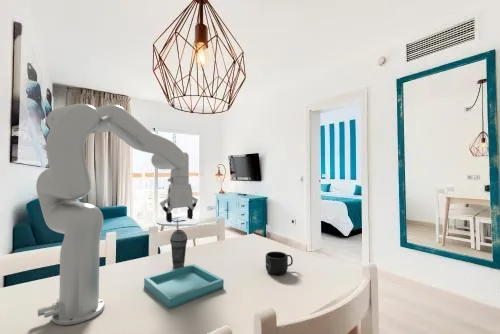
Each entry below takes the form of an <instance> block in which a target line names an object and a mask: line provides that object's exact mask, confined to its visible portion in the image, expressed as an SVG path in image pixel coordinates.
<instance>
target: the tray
mask: <svg viewBox="0 0 500 334" xmlns="http://www.w3.org/2000/svg"><path fill="white" fill-rule="evenodd" d="M143 279H144V281H143V284H144V285H143V287H144V288H145V289H146V290H147V291H149V292H150V294H152V295H153V296H154V297H156V298H157V299H158V300H159V301H160V302H161V303H162V304H163V305H164V306H166V307H167V308H168V309H169V310H172V309H174V308H177V307H179V306H180V307H181V305H185V304H187V303H189V302H193V301H194V300H197V299H200V298H202V297H205V296H209V294H210V295H211V294H212V293H215V292H217V291H220V290H223V289H224V280H225V279H224V278H221V277H220V276H218V275H215V274H214V273H211V272H210V271H208V270H206V269H204V268H202V267H200V266H198V265H196V264H194V263H191V264H190V265H189V264H187V265H184V267H181V268H173V269H172V270H168V271H164V272H161V273H156V274H154V275H150V276H146V277H144V278H143Z"/></svg>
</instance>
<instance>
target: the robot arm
mask: <svg viewBox="0 0 500 334" xmlns="http://www.w3.org/2000/svg"><path fill="white" fill-rule="evenodd" d="M46 122H47V126H48V127H49V129H50V130H49V131H48V134H47V138H46V142H45V147H46V148H45V149H46V150H45V152H46V156H47V164H48V167H47V168H46V169H45V170H43V171H42V172H41V173H40V174H39V175H38V176H37V179H36V185H35V186H36V188H35V189H36V193H37V196H38V197H37V198H38V202H39V204H40V209H41V213H42V217H43V219H44V222H45V224H46V226H47V227H48V229H50V230H51V231H53V232H56V233H58V234H63V235H64V237H63V240H62V243H61V247H60V250H59V252H60V253H59V293H58V295H59V296H58V297H59V298H56V302H54V303H52V305H49V306H43V307H40V308H37V317H42V316H43V318H44V319H45V318H49V317H51V321H52V322H53V323H54V324H55V325H59V326H69V325H71V326H72V325H75V324H80V323H83V322H86V321H88V320H90V319H93V318H95V317H96V316H99V314H101V312H103V310H104V309H105V307H106V306H105V303H106V302H105V301H104V299H102V298H100V243H101V236H102V235H101V234H102V232H103V226H104V215H103V212H102V211H101V209H100V208H99V207H97V206H96V205H94V204H91V203H87V202H79V201H78V200H81V199H84V198H85V197H87V196H88V194H89V193H90V191H91V189H92V181H91V178H90V173H89V168H88V164H87V159H86V154H85V153H86V152H85V146H86V145H85V143H86V142H87V139H88V138H89V136H90V134H99V133H106V132H110V133H112V134H113V135H115V136H116V137H118V138H119V139H120V140H122V142H124V143H125V144H127V145H128V146H129V147H131V149H134V150H137V151H140V152H143V153H148V154H149V153H150V154H152V156H151V159H150V160H151V162H150V163H151V164H152V166H153V167H154V168H156V169H159V170H170V177H169V178H168V179H167V182H170V184H168V190H167V195H166V199H164V200H162V201H160V202H159V205H160V207H161V209H162V210H163V211H164V212H165V215H166V216H165V220H166V222H167V223H169V224H170V223H172V222H173V213H172V211H173V209H181V208H187V210H186V211H187V212H186V213H187V219H190V220H193V217H194V215H193V214H194V213H193V212H194V209H195V208H196V206H197V203H198V202H199V199H198V198H196V197H194V196H193V190H192V189H193V188H192V184H191V183H189V182H190V178H189V177H190V176H189V174H190V171H189V164H190V163H189V161H190V158H189V157H190V155H189V153H188V152H184V151H183V150H182V149H181V148H180V147H178V145H176V143H174V142H172V141H171V140H169V139H167V138H166V137H163V136H162V135H160V134H158V133H155V132H152V131H151V130H149V129H148V128H147V127H146V126H144V125H143V123H141V122H140V121H139V120H138V119H136V118H135V116H133V115H132V114H131V113H130V112H128V110H126V109H125V108H124V107H123V106H120V105H118V104H108V105H102V106H96V107H94V106H93V105H90V104H87V103H75V104H70V105H66V106H65V105H64V106H61V107H58V108H57V107H56V108H54V109H52V110H51V111H50V112H49V113H48V115H47V118H46ZM166 205H167V207H166Z"/></svg>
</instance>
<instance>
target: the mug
mask: <svg viewBox="0 0 500 334" xmlns="http://www.w3.org/2000/svg"><path fill="white" fill-rule="evenodd" d="M289 257H290V263H289V261H288V260H289ZM288 263H289V264H288ZM293 263H294V260H293V256H292V255H290V254H287V253H286V252H282V251H269V252H267V253H266V254H265V270H266V272H267V273H269V274H271V275H273V276H281V275H283V274H286V273H287V271H288V269H289V268H288V267H290V266H292V265H293Z"/></svg>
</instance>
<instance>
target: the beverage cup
mask: <svg viewBox="0 0 500 334" xmlns="http://www.w3.org/2000/svg"><path fill="white" fill-rule="evenodd" d="M176 227H177V228H176V229H177V230H175V231H174V232H173V233H172V234H171V236H170V239H169V241H170V246H171V258H172V268H173V269H178V268H181V267H185V261H186V249H187V244H188V236H187V233H186V231H184V230H182V229H179V219H176Z"/></svg>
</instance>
